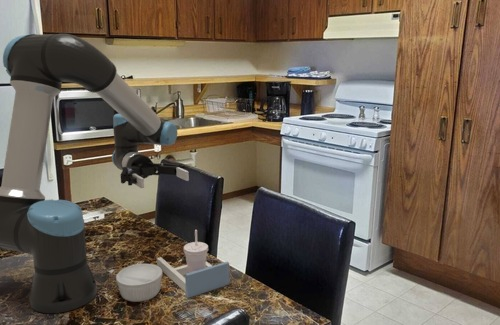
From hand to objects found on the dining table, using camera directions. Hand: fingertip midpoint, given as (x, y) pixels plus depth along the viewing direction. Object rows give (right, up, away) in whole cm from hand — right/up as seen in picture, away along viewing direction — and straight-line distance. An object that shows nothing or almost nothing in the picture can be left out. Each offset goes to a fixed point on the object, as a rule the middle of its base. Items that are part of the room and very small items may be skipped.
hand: (165, 179), depth 121 cm
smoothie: (+10, -26, -7) cm, 29 cm away
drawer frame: (+8, -26, -4) cm, 27 cm away
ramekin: (-4, -28, -13) cm, 31 cm away
